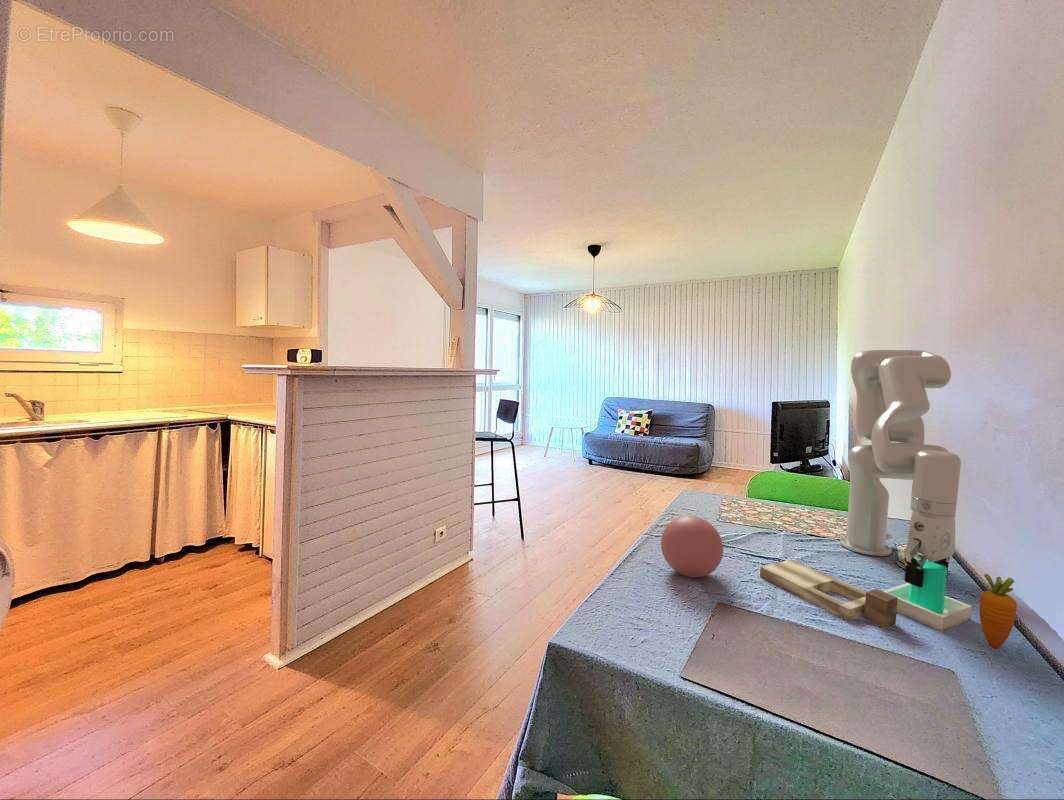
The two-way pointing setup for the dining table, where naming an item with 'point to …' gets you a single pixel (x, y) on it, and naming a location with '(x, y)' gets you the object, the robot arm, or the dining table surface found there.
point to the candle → (930, 588)
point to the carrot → (997, 611)
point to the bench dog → (880, 608)
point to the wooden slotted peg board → (816, 587)
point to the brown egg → (692, 546)
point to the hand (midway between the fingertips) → (925, 580)
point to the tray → (951, 616)
